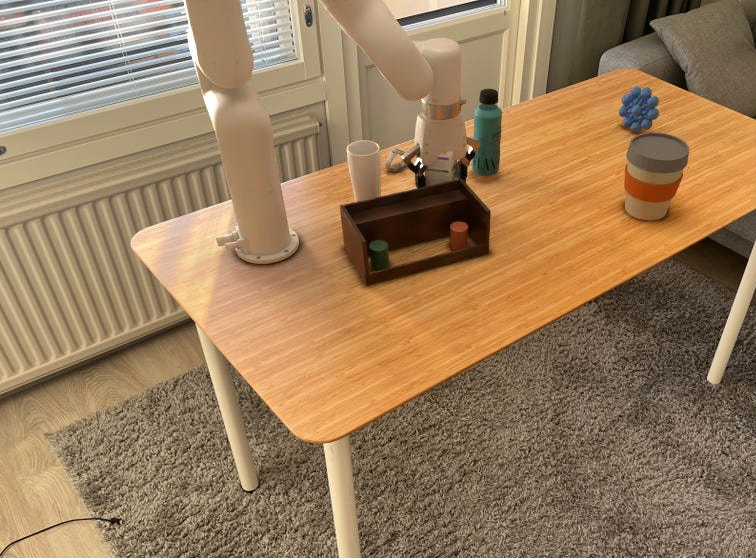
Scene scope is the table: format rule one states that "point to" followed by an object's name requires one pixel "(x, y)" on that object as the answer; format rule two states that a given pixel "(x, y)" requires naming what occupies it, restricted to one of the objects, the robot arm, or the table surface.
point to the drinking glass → (364, 169)
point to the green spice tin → (379, 255)
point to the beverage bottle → (487, 134)
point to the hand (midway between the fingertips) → (441, 185)
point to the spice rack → (414, 226)
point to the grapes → (639, 109)
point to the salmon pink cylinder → (458, 236)
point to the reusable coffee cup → (653, 173)
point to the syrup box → (441, 170)
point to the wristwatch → (391, 157)
